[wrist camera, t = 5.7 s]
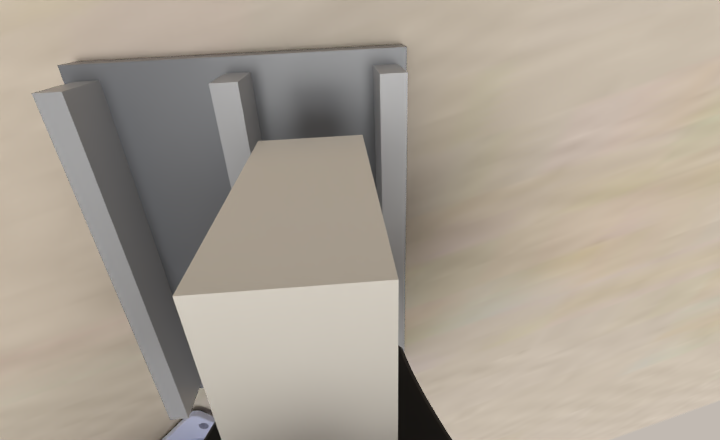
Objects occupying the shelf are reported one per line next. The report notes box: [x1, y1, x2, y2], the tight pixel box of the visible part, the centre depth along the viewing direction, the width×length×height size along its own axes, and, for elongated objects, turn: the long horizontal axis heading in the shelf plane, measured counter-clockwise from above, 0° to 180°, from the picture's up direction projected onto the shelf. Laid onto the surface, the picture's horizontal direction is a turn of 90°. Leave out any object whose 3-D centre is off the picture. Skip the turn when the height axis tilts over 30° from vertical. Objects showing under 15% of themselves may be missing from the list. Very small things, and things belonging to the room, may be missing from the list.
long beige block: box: [172, 135, 399, 440], centre depth 10 cm, size 12×3×6 cm, turn 2°
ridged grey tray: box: [32, 44, 408, 420], centre depth 16 cm, size 15×11×3 cm
